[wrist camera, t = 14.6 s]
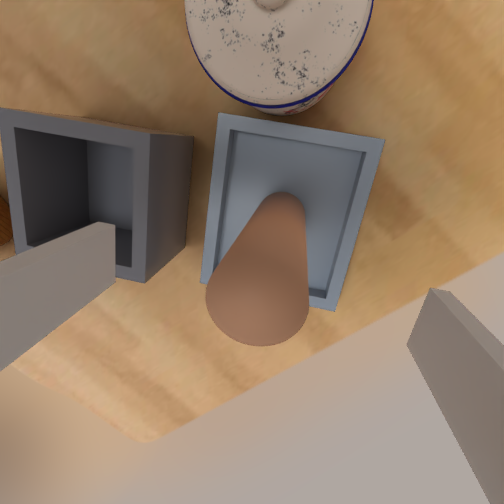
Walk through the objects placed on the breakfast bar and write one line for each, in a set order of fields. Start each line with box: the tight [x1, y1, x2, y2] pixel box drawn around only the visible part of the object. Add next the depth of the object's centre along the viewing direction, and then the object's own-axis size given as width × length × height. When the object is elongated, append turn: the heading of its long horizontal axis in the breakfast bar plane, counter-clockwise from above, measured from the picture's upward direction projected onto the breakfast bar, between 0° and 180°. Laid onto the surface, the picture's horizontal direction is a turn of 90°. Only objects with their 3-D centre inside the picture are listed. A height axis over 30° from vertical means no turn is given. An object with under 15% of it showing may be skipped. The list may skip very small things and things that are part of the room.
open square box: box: [0, 107, 194, 283], centre depth 24 cm, size 10×10×8 cm
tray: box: [200, 112, 385, 312], centre depth 25 cm, size 14×12×2 cm
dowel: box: [206, 192, 309, 346], centre depth 19 cm, size 4×4×15 cm
